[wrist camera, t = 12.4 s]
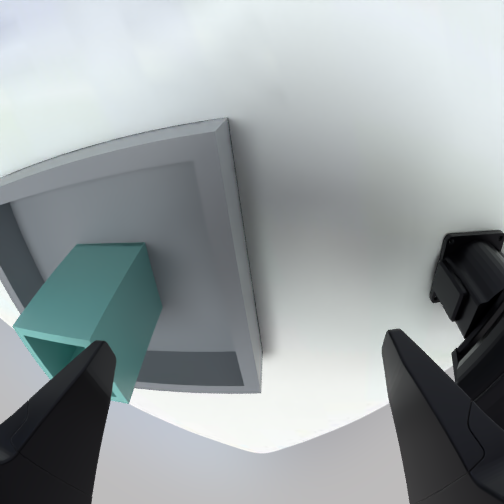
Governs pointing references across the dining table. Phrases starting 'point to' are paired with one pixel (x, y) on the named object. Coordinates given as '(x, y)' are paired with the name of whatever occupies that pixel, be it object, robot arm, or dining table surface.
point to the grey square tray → (149, 244)
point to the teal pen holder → (95, 311)
